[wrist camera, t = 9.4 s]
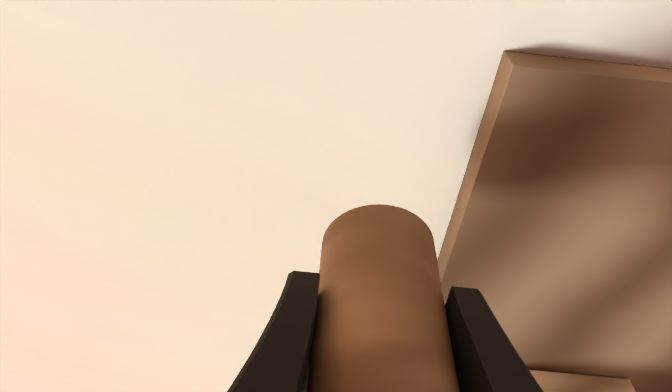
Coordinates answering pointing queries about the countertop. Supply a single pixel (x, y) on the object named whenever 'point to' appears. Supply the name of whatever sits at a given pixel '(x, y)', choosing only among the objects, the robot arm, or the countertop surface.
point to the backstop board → (572, 217)
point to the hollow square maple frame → (580, 383)
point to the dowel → (380, 307)
